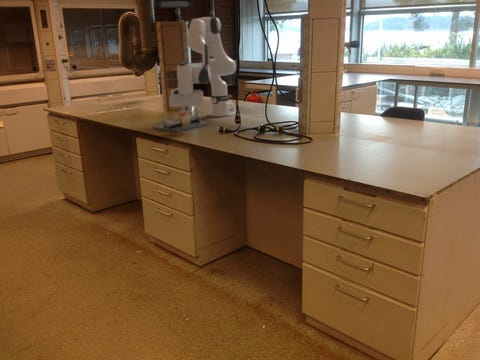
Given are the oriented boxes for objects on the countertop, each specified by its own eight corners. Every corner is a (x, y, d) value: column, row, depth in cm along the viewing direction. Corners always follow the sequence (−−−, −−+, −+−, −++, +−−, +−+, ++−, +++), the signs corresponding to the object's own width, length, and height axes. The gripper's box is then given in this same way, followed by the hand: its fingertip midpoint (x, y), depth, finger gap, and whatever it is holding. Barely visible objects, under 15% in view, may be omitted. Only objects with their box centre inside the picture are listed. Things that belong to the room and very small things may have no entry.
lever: (179, 114, 282) (178, 109, 281) (184, 114, 282) (184, 108, 281) (179, 119, 266) (179, 113, 265) (186, 118, 267) (185, 112, 266)
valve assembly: (187, 121, 300) (186, 110, 298) (211, 124, 287) (211, 113, 285) (152, 128, 278) (151, 117, 276) (178, 132, 265) (177, 120, 263)
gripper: (202, 88, 269) (203, 111, 274) (168, 90, 265) (169, 114, 270) (203, 90, 263) (205, 113, 268) (168, 92, 260) (170, 115, 264)
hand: (187, 113), depth 269 cm, fingers closed
